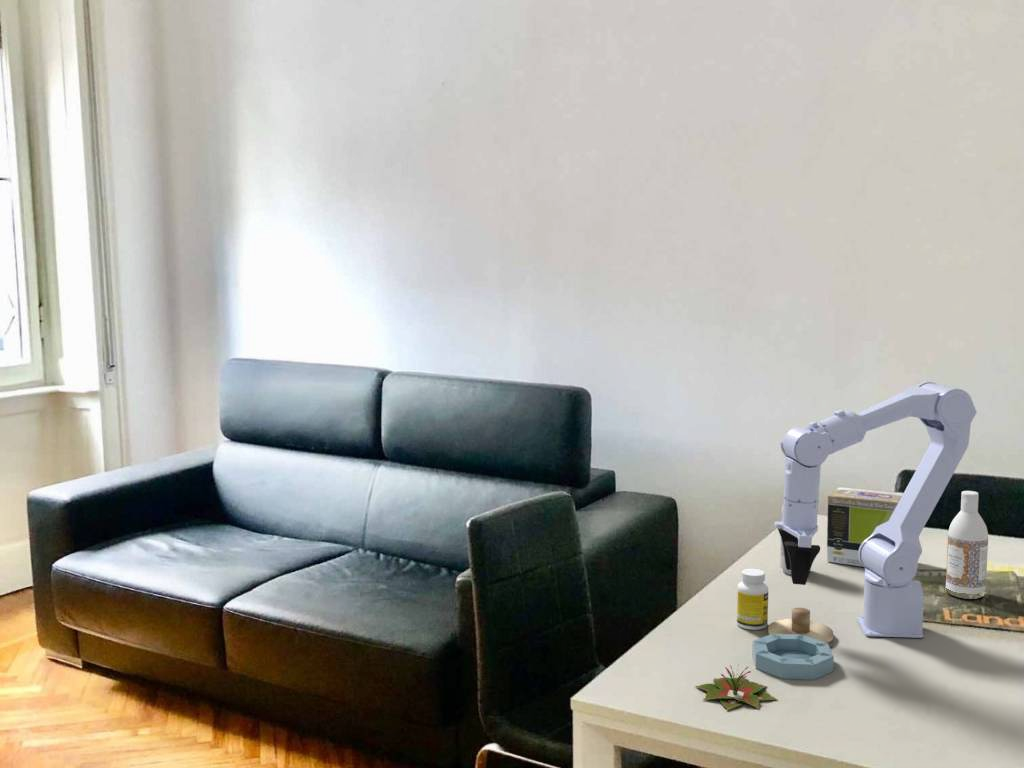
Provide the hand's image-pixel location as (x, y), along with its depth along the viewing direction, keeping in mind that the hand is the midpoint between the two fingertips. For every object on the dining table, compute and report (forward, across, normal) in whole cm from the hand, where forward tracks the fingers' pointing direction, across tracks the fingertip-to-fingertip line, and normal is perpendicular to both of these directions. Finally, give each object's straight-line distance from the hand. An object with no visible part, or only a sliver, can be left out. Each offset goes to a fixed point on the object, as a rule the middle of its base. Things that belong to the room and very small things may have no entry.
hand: (795, 576), depth 173 cm
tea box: (+10, -43, +21) cm, 49 cm away
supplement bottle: (+11, -5, -6) cm, 14 cm away
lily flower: (+12, +23, -11) cm, 29 cm away
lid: (+10, 0, +1) cm, 10 cm away
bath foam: (+9, -24, +35) cm, 44 cm away
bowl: (+11, +11, -2) cm, 16 cm away
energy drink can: (+10, -35, +5) cm, 37 cm away
